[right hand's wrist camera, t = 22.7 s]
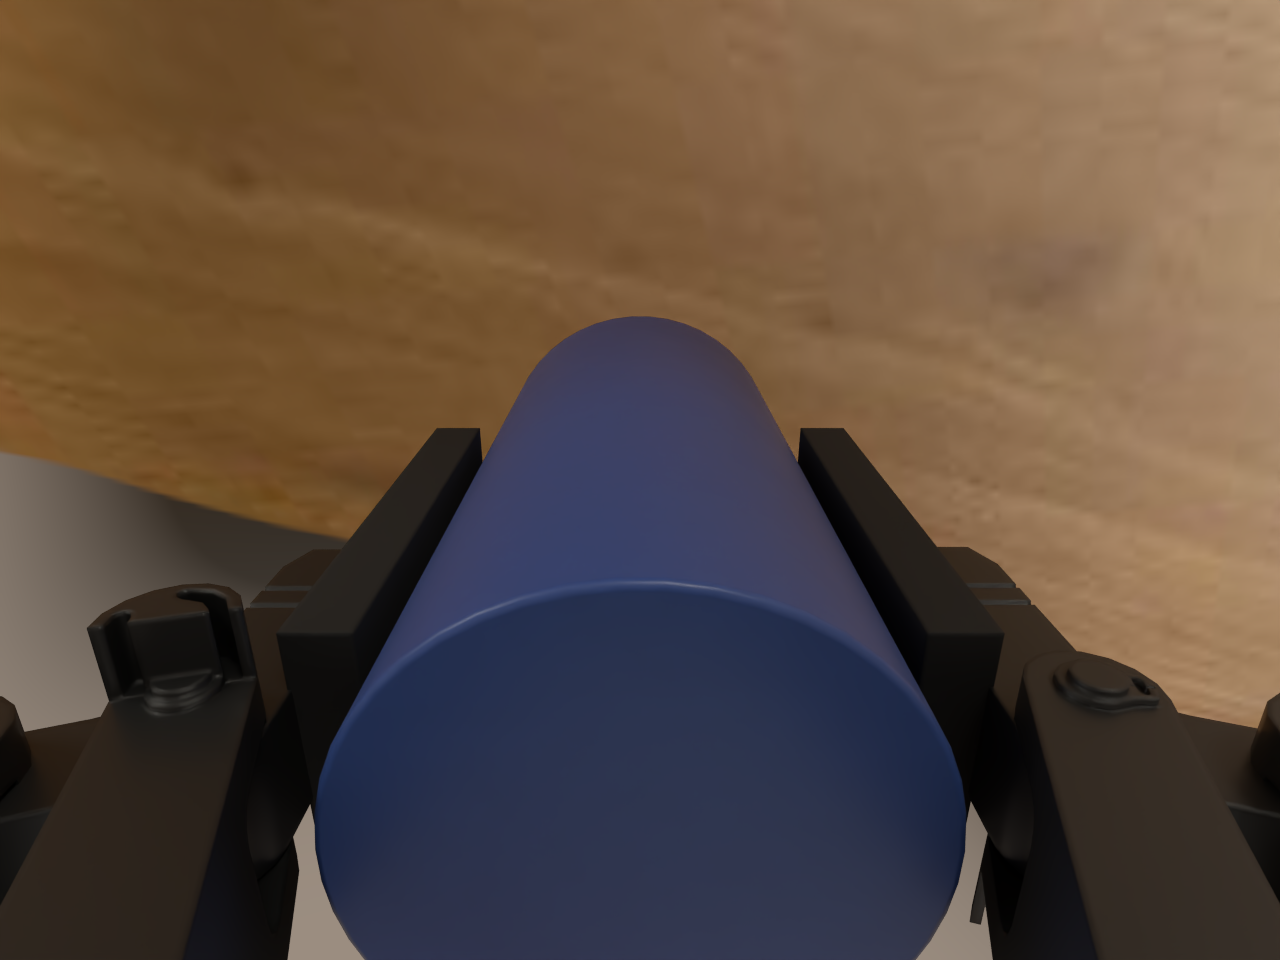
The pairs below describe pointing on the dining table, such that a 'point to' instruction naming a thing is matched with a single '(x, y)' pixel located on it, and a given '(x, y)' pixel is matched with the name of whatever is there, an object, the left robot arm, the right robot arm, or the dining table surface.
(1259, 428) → the dining table surface
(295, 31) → the dining table surface
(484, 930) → the canister
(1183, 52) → the dining table surface
